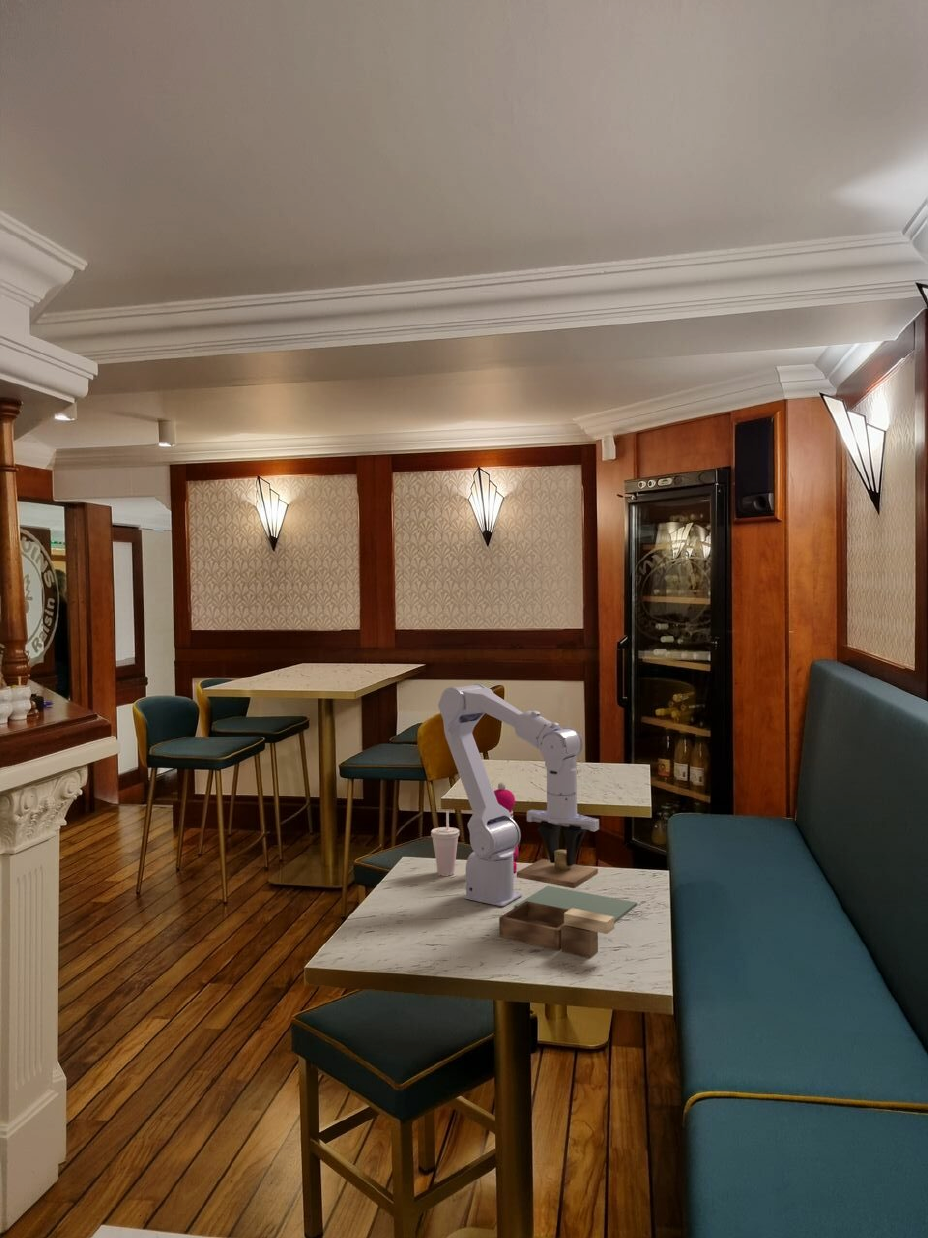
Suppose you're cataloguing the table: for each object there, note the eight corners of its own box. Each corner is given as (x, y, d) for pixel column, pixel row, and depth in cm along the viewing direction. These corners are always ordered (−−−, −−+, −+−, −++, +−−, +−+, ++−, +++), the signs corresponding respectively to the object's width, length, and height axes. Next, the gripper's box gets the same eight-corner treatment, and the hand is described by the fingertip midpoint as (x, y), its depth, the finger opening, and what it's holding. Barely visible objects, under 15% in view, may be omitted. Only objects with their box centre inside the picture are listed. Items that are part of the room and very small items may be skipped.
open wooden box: (499, 936, 157) (499, 912, 157) (526, 919, 165) (526, 895, 165) (590, 958, 147) (590, 931, 147) (614, 938, 155) (614, 913, 155)
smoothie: (456, 879, 190) (455, 815, 190) (428, 877, 191) (427, 814, 191) (462, 870, 196) (461, 808, 196) (435, 868, 198) (434, 807, 197)
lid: (516, 877, 163) (516, 856, 163) (542, 863, 172) (542, 843, 172) (574, 888, 157) (574, 866, 157) (597, 873, 165) (597, 852, 165)
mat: (514, 908, 171) (514, 905, 171) (547, 888, 183) (547, 885, 183) (608, 928, 160) (608, 925, 160) (637, 905, 172) (637, 902, 172)
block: (564, 925, 150) (563, 913, 150) (571, 919, 152) (571, 908, 152) (607, 934, 145) (606, 922, 145) (614, 928, 148) (614, 916, 148)
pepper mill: (509, 878, 190) (507, 787, 190) (480, 873, 194) (479, 784, 193) (524, 869, 196) (523, 781, 196) (496, 864, 200) (495, 778, 199)
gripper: (518, 792, 166) (519, 862, 167) (587, 801, 158) (587, 875, 159) (536, 785, 172) (537, 853, 173) (603, 793, 164) (604, 865, 164)
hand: (562, 863), depth 166 cm, fingers closed on lid, 3 cm apart
